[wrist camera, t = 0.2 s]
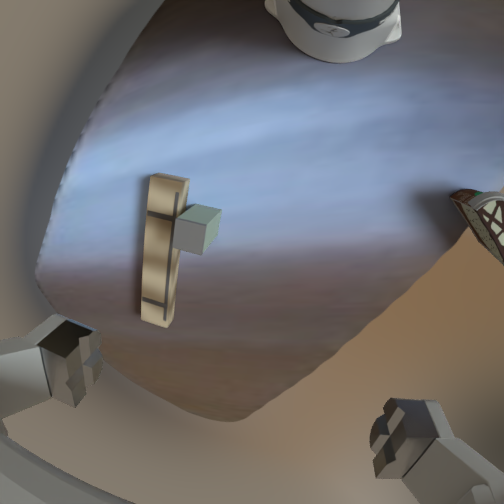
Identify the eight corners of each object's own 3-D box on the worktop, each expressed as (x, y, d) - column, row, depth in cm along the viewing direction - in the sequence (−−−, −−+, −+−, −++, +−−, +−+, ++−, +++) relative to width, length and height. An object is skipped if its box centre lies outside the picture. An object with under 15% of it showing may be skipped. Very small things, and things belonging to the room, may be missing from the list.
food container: (506, 223, 39) (540, 245, 30) (482, 248, 42) (512, 275, 33) (470, 163, 38) (505, 174, 29) (444, 189, 40) (474, 206, 31)
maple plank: (159, 172, 46) (150, 176, 43) (190, 178, 46) (182, 182, 43) (148, 310, 56) (140, 319, 53) (173, 318, 56) (166, 328, 53)
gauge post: (196, 203, 47) (175, 218, 40) (221, 209, 47) (205, 226, 40) (192, 228, 49) (172, 247, 42) (217, 235, 49) (201, 255, 41)
